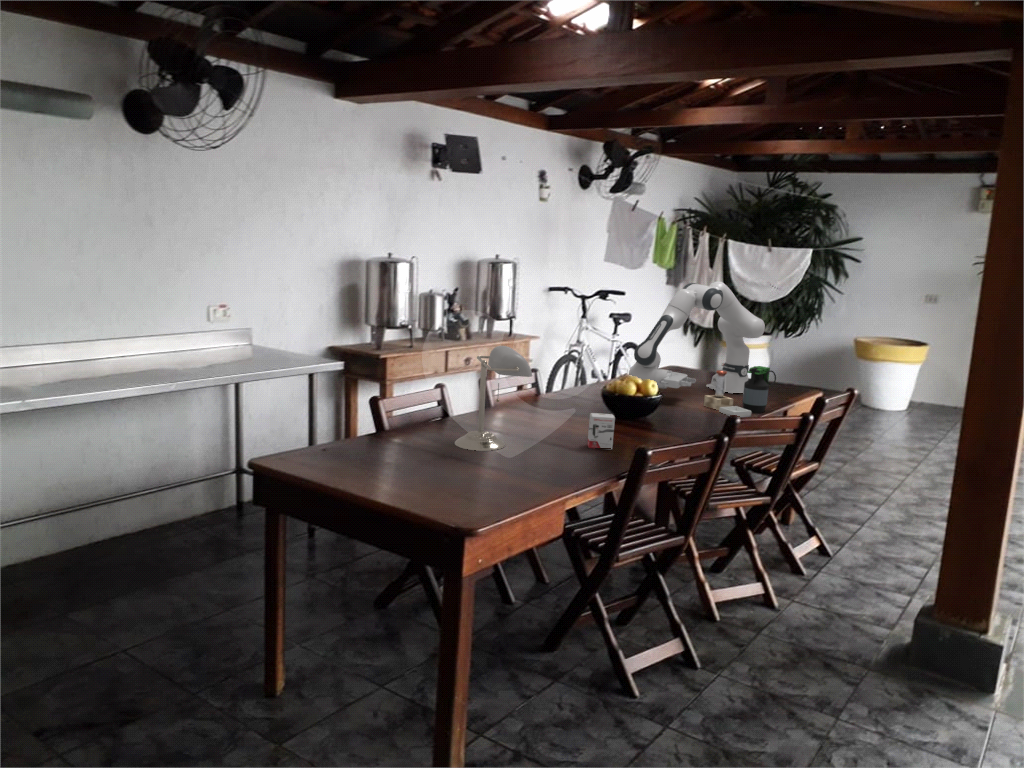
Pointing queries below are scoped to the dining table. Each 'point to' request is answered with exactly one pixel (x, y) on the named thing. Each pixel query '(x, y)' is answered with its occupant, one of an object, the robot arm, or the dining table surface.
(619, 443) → the dining table surface
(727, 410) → the tray
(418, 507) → the dining table surface
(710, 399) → the block
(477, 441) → the lamp
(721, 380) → the pin
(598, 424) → the ink box
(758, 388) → the grenade
